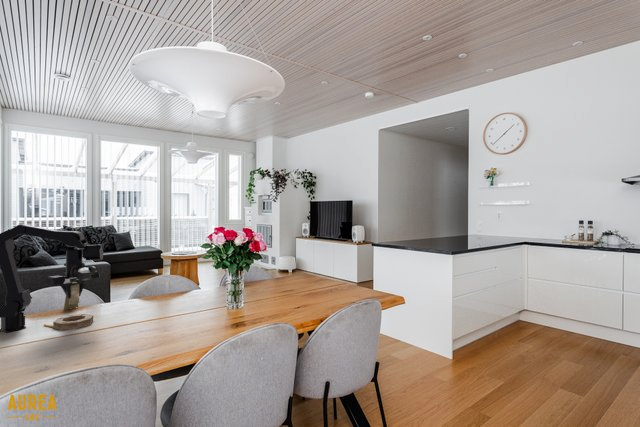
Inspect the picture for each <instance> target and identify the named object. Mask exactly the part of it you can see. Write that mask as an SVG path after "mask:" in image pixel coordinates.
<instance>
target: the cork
mask: <svg viewBox="0 0 640 427" xmlns="http://www.w3.org/2000/svg"><path fill="white" fill-rule="evenodd" d="M64 299H65V300H64V305H63V310H71V309H70V308H75V309H77V308H76V307H78V308H79V303H78V304H69V299H68V298H67V296H66V295H65V298H64Z"/></svg>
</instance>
